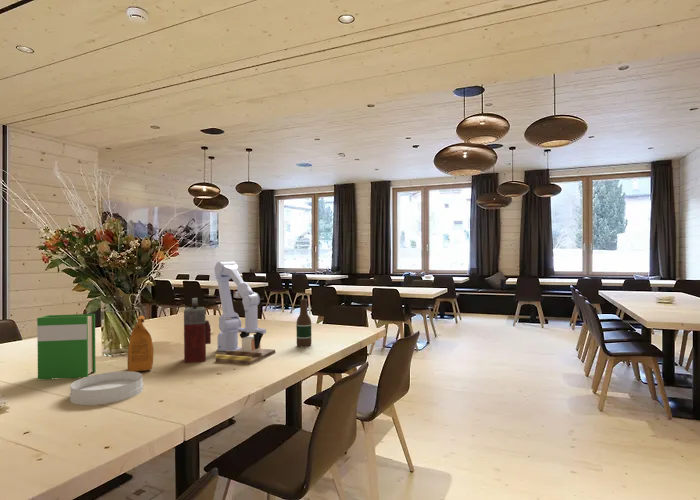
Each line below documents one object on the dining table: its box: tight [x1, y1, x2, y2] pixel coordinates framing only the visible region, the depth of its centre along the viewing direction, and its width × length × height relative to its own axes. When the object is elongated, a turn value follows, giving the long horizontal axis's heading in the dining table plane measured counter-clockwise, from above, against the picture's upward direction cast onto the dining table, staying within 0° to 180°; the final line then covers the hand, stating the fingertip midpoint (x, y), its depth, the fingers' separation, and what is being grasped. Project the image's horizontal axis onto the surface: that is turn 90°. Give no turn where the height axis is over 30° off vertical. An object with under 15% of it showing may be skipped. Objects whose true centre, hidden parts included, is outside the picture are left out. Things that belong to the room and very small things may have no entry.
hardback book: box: [36, 313, 97, 380], centre depth 169 cm, size 18×7×24 cm, turn 98°
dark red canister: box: [183, 297, 212, 364], centre depth 192 cm, size 9×11×28 cm
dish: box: [69, 370, 144, 406], centre depth 147 cm, size 22×22×5 cm
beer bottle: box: [295, 298, 312, 348], centre depth 219 cm, size 8×8×24 cm
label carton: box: [241, 334, 262, 352], centre depth 200 cm, size 9×5×7 cm, turn 162°
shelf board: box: [214, 347, 276, 365], centre depth 196 cm, size 18×22×3 cm
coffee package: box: [127, 315, 155, 373], centre depth 177 cm, size 10×12×22 cm
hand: (251, 348), depth 200 cm, fingers closed on label carton, 5 cm apart
